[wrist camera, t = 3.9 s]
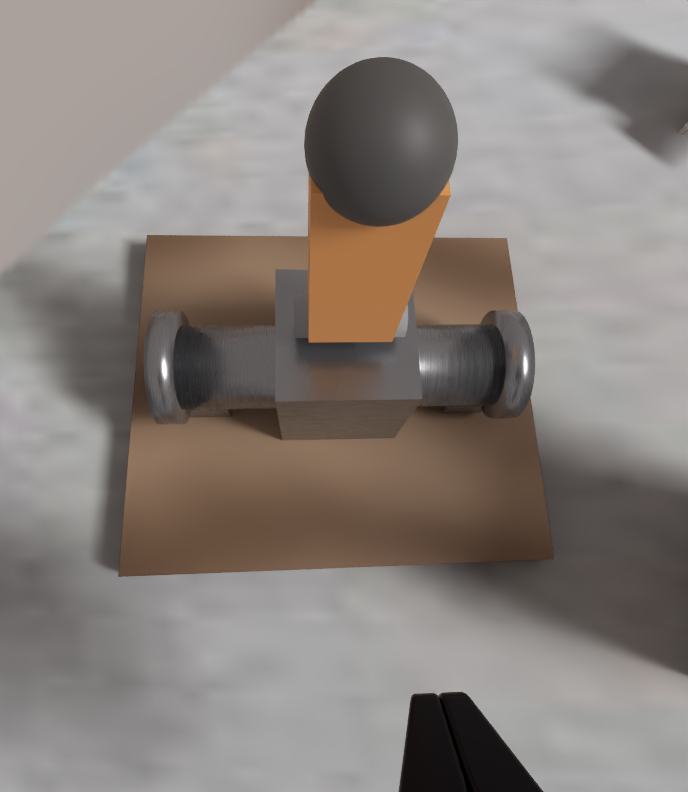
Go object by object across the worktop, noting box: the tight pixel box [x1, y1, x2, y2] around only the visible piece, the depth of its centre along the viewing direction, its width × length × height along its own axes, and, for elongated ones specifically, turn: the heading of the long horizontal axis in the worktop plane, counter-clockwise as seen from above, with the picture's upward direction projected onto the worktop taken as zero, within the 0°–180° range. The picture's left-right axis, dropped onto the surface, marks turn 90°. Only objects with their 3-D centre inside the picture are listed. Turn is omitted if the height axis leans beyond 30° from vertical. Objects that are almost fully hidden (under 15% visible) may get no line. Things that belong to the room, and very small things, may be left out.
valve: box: [144, 269, 535, 441], centre depth 19 cm, size 4×13×5 cm, turn 92°
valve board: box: [118, 235, 554, 577], centre depth 22 cm, size 14×16×1 cm
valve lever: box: [294, 57, 458, 343], centre depth 12 cm, size 3×3×8 cm
